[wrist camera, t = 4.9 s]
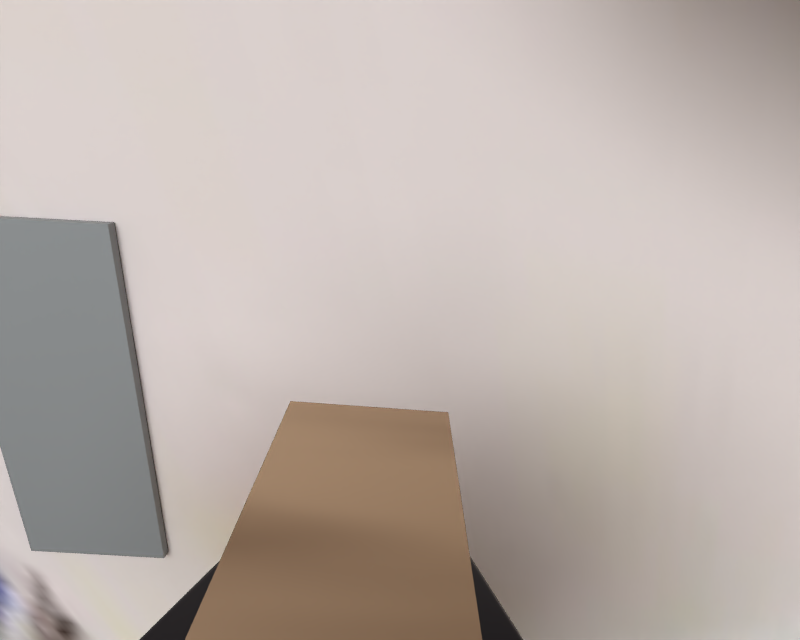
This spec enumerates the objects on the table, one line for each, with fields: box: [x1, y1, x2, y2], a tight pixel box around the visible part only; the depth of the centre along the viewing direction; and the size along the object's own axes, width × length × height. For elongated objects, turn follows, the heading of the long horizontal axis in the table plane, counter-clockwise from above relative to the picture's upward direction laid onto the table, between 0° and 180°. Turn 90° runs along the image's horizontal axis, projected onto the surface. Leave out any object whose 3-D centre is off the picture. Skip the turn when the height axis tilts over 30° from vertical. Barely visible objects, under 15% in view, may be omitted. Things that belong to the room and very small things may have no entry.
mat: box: [0, 216, 168, 558], centre depth 20 cm, size 16×6×1 cm, turn 177°
